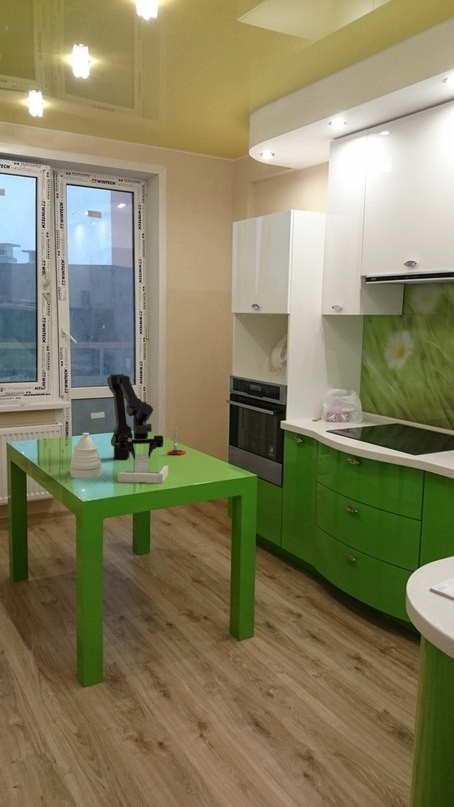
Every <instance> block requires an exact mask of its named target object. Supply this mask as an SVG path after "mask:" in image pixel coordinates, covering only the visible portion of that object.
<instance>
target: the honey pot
mask: <svg viewBox="0 0 454 807" xmlns="http://www.w3.org/2000/svg"><path fill="white" fill-rule="evenodd" d="M73 450H74V452H73V454H72V458H71V461H70V468H69V469H70V472H69V473H70V477H72V478H75V479H92V478H93V479H94V478H97V477H101V475H102V474H103V473H102V470H103V469H102V460H101V458H100V456H99V454H100V453H99V452H98V450H99V446H98V445H96V444H95V443H94V441H93V439H92V438H91V437H90V433H89V432H83V433H82V437H80V439H79V440H78V442H77V444H76V445H75V446H74V447H73Z"/></svg>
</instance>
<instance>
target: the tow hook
mask: <svg viewBox="0 0 454 807" xmlns="http://www.w3.org/2000/svg"><path fill="white" fill-rule="evenodd" d="M173 434H174V435H173V448H172V449H170V450H168V451H167V452H168V453H167V455H169V456H170V455H171V456H183V455H184V454H186V453H187V452H186V450H184V449H178V445H177V442H178V441H177V440H178V439H177V438H178V437H177V436H178V433H177V428H174V433H173Z"/></svg>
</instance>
